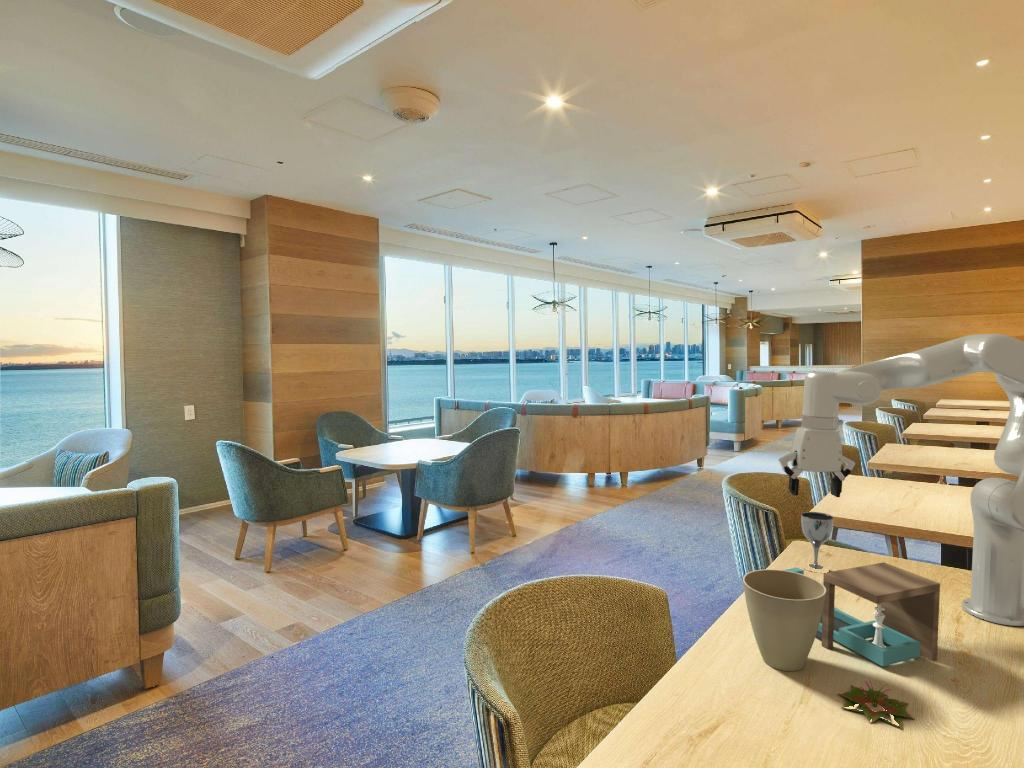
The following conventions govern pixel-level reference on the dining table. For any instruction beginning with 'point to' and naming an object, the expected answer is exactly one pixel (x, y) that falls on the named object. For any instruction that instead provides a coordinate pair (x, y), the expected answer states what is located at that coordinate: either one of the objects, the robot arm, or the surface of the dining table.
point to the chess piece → (879, 626)
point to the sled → (861, 631)
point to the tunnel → (887, 602)
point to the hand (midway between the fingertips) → (814, 495)
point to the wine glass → (816, 531)
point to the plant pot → (784, 615)
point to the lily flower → (879, 698)
